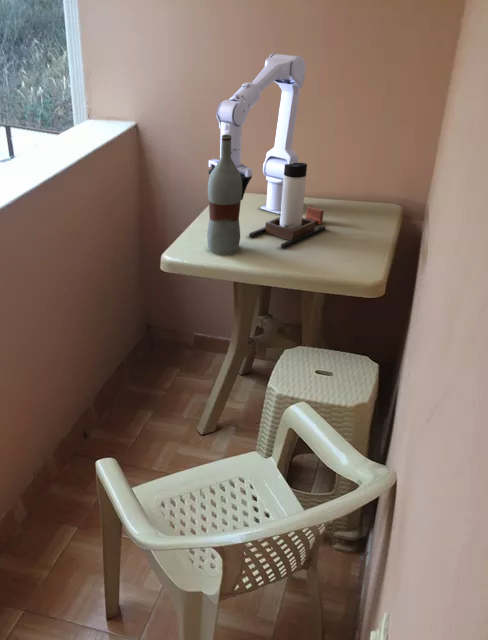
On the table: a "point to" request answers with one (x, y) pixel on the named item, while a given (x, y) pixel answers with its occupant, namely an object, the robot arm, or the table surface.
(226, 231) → the bottle
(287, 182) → the travel mug
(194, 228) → the table surface
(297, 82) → the robot arm
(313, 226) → the carrier
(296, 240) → the rails
